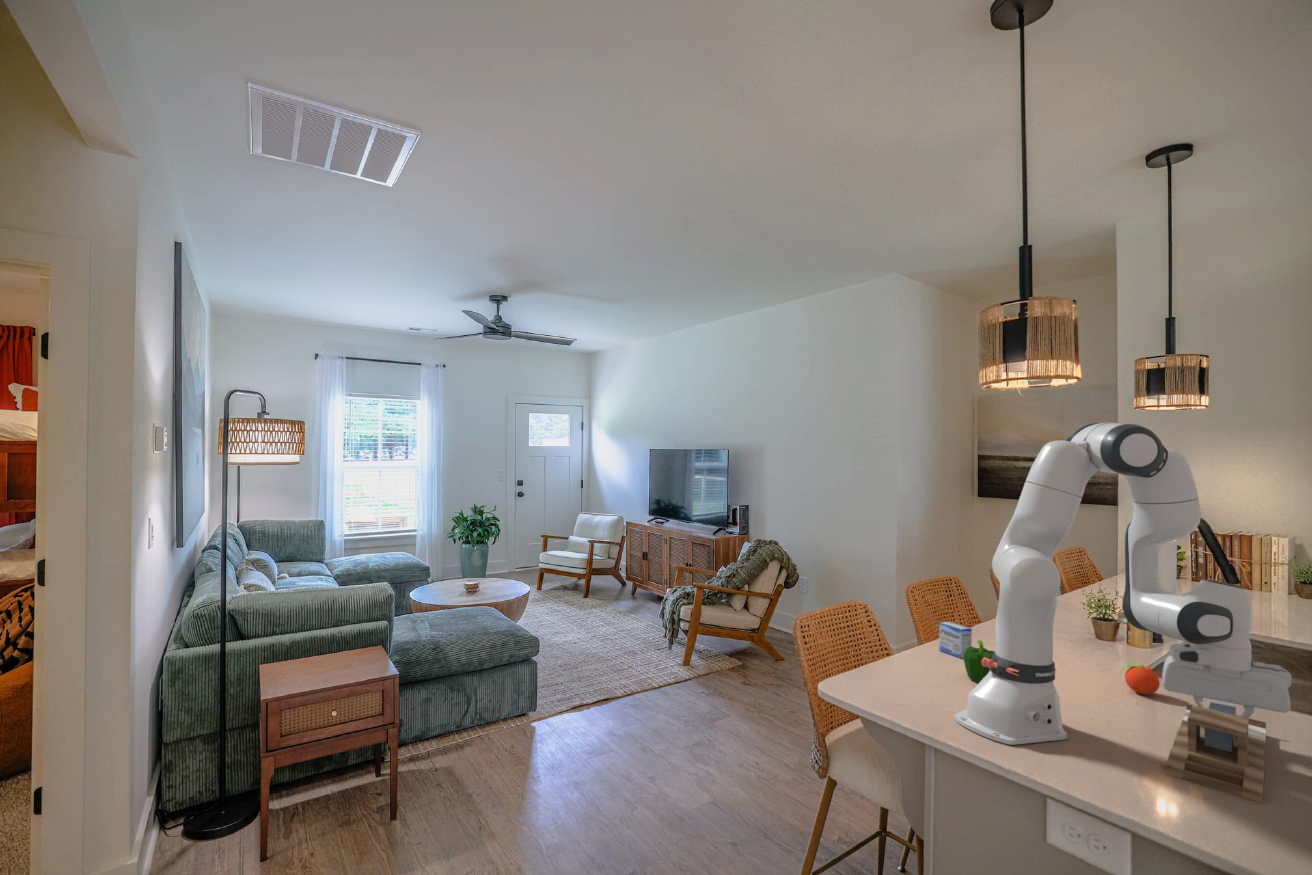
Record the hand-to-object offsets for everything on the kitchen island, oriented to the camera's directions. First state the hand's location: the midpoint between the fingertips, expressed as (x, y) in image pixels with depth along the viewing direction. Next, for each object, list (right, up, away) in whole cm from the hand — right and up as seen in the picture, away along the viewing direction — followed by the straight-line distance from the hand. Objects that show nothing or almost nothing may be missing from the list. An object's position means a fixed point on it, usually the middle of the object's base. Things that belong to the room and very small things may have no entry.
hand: (1222, 721), depth 131 cm
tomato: (+1, -4, +24) cm, 24 cm away
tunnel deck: (-8, -3, -8) cm, 11 cm away
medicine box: (-32, -4, +51) cm, 61 cm away
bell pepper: (-36, -3, +30) cm, 47 cm away
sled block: (-4, -1, -4) cm, 6 cm away
